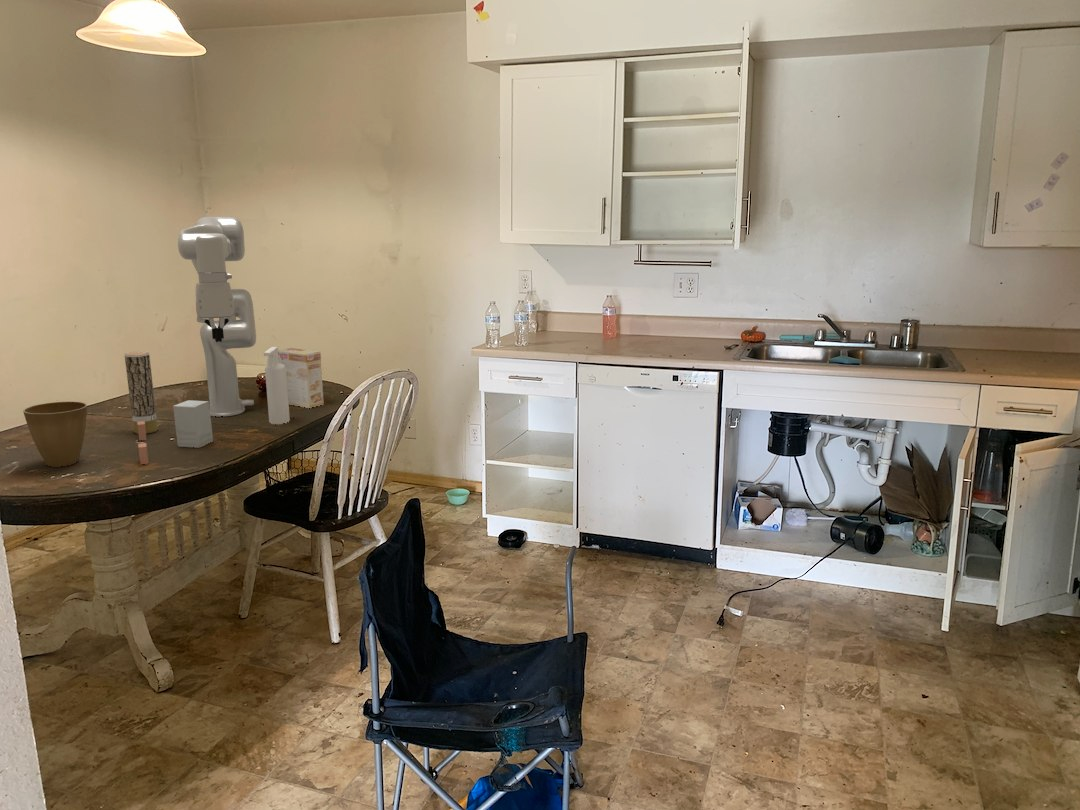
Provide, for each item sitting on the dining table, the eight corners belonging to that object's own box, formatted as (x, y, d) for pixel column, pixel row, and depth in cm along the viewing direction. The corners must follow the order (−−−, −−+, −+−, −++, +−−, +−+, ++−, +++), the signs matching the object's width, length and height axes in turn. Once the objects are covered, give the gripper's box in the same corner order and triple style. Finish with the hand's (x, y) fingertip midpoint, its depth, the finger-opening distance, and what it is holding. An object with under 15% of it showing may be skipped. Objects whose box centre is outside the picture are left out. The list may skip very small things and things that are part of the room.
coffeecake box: (324, 405, 288) (321, 351, 283) (309, 409, 282) (305, 354, 277) (295, 399, 295) (292, 347, 291) (280, 403, 290) (276, 350, 285)
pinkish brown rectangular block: (146, 436, 247) (144, 420, 246) (148, 464, 221) (146, 446, 220) (139, 437, 246) (137, 421, 245) (140, 465, 220) (138, 447, 219)
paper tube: (134, 435, 248) (124, 356, 242) (133, 430, 254) (124, 352, 248) (158, 433, 251) (149, 354, 245) (157, 428, 257) (148, 350, 251)
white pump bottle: (298, 416, 271) (290, 343, 265) (284, 426, 260) (275, 351, 253) (279, 416, 272) (270, 343, 265) (264, 426, 260) (254, 351, 254)
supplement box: (214, 441, 243) (210, 400, 240) (198, 448, 236) (194, 406, 233) (192, 439, 244) (188, 399, 241) (176, 446, 237) (172, 405, 234)
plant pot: (87, 469, 217) (79, 411, 213) (24, 473, 213) (15, 415, 209) (99, 453, 231) (92, 399, 227) (40, 457, 227) (32, 402, 223)
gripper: (238, 276, 239) (243, 337, 243) (183, 278, 232) (190, 341, 236) (241, 278, 232) (246, 341, 236) (185, 280, 226) (191, 345, 230)
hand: (218, 341), depth 236 cm, fingers closed
